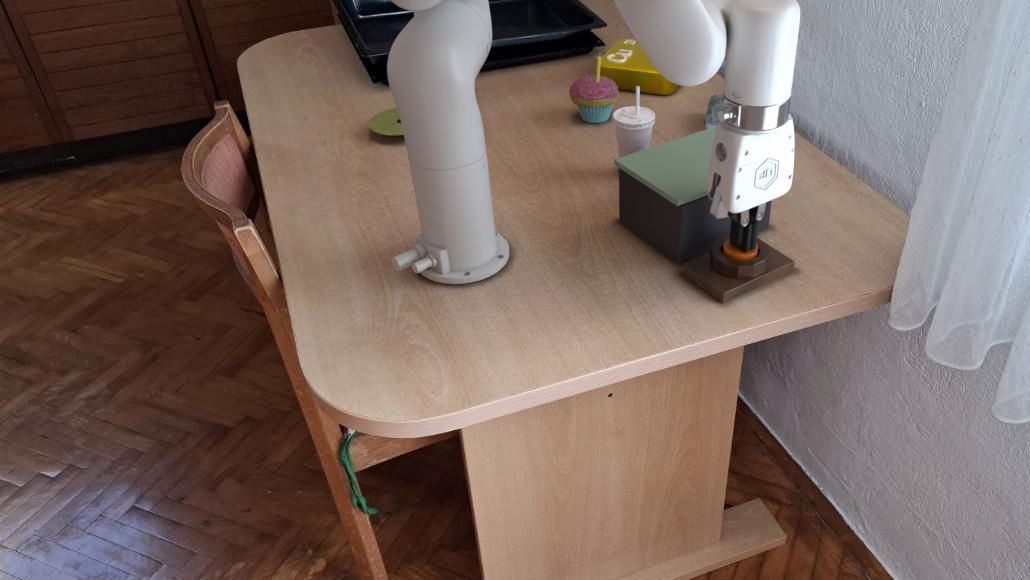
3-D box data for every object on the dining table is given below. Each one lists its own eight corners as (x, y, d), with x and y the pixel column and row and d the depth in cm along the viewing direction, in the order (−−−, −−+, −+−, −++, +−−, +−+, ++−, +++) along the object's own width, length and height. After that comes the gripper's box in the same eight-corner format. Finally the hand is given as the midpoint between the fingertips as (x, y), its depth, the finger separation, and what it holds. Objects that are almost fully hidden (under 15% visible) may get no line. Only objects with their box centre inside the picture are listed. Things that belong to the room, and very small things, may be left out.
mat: (417, 149, 140) (415, 138, 139) (357, 140, 143) (355, 129, 142) (448, 120, 148) (446, 110, 147) (391, 113, 151) (389, 102, 150)
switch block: (722, 303, 106) (725, 280, 103) (682, 274, 111) (683, 250, 108) (793, 271, 111) (797, 248, 108) (751, 244, 116) (754, 221, 114)
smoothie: (650, 185, 129) (652, 96, 120) (609, 181, 130) (608, 93, 122) (656, 165, 134) (659, 79, 125) (616, 162, 135) (616, 76, 126)
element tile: (671, 97, 154) (672, 71, 151) (593, 87, 158) (593, 61, 155) (693, 67, 165) (694, 42, 162) (620, 58, 169) (620, 34, 166)
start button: (737, 272, 107) (739, 259, 106) (715, 256, 110) (716, 243, 109) (763, 260, 109) (765, 247, 108) (740, 245, 112) (742, 232, 110)
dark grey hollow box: (679, 265, 112) (682, 206, 107) (618, 221, 121) (618, 164, 116) (768, 228, 119) (775, 170, 114) (704, 188, 128) (708, 133, 122)
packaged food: (758, 115, 148) (761, 87, 145) (755, 145, 139) (757, 117, 136) (708, 112, 149) (709, 85, 146) (701, 142, 140) (702, 114, 137)
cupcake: (628, 119, 147) (629, 50, 140) (588, 132, 144) (585, 62, 136) (600, 103, 153) (599, 36, 145) (560, 115, 149) (557, 47, 142)
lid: (677, 206, 106) (677, 200, 106) (613, 164, 115) (613, 159, 115) (775, 170, 113) (776, 164, 113) (708, 133, 122) (708, 128, 122)
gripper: (726, 138, 91) (716, 279, 102) (826, 103, 97) (806, 239, 109) (682, 114, 96) (677, 252, 107) (780, 82, 102) (765, 215, 114)
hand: (742, 245), depth 108 cm, fingers closed
